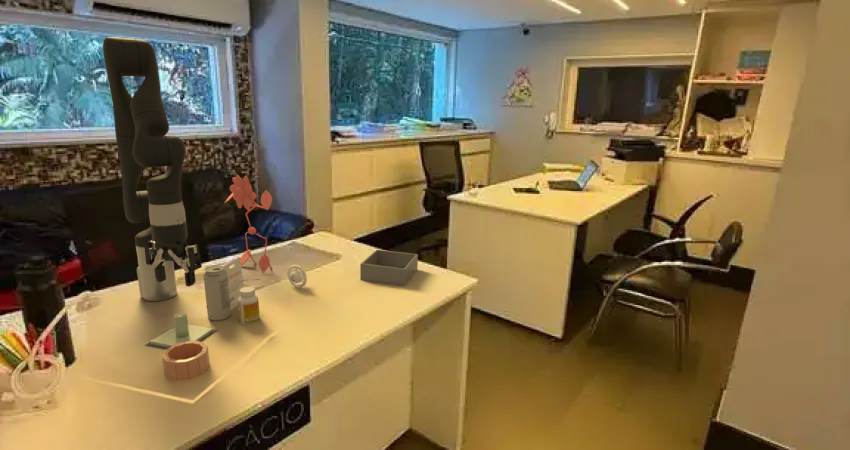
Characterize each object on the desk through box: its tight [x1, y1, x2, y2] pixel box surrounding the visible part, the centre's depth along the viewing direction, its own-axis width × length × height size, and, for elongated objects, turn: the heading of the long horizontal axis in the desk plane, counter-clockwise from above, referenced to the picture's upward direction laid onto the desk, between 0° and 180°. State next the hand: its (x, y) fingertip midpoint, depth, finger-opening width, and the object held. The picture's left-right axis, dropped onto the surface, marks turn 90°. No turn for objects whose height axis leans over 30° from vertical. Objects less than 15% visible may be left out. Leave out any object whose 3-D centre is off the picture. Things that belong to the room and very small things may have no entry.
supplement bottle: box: [237, 286, 261, 325], centre depth 128 cm, size 5×5×10 cm
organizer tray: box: [359, 249, 419, 287], centre depth 165 cm, size 16×16×6 cm
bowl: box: [161, 341, 210, 381], centre depth 105 cm, size 9×9×5 cm
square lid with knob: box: [150, 312, 213, 348], centre depth 118 cm, size 10×10×6 cm
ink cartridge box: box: [223, 256, 244, 311], centre depth 136 cm, size 9×5×15 cm, turn 170°
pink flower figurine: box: [224, 174, 273, 282], centre depth 160 cm, size 15×26×35 cm, turn 57°
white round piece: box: [286, 264, 308, 289], centre depth 152 cm, size 8×6×8 cm
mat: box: [144, 328, 219, 351], centre depth 119 cm, size 12×12×1 cm
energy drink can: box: [203, 265, 232, 322], centre depth 128 cm, size 6×6×15 cm
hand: (176, 283), depth 114 cm, fingers open, 8 cm apart
